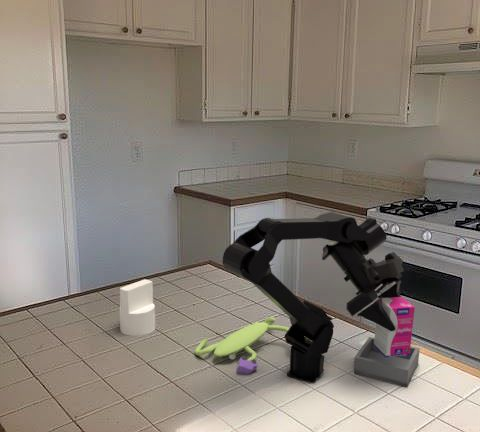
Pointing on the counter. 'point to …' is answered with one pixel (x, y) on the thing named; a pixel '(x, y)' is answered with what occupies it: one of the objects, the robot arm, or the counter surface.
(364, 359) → the bin
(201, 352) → the figurine
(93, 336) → the counter surface
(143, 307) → the base with upright slab
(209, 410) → the counter surface
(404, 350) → the supplement box
